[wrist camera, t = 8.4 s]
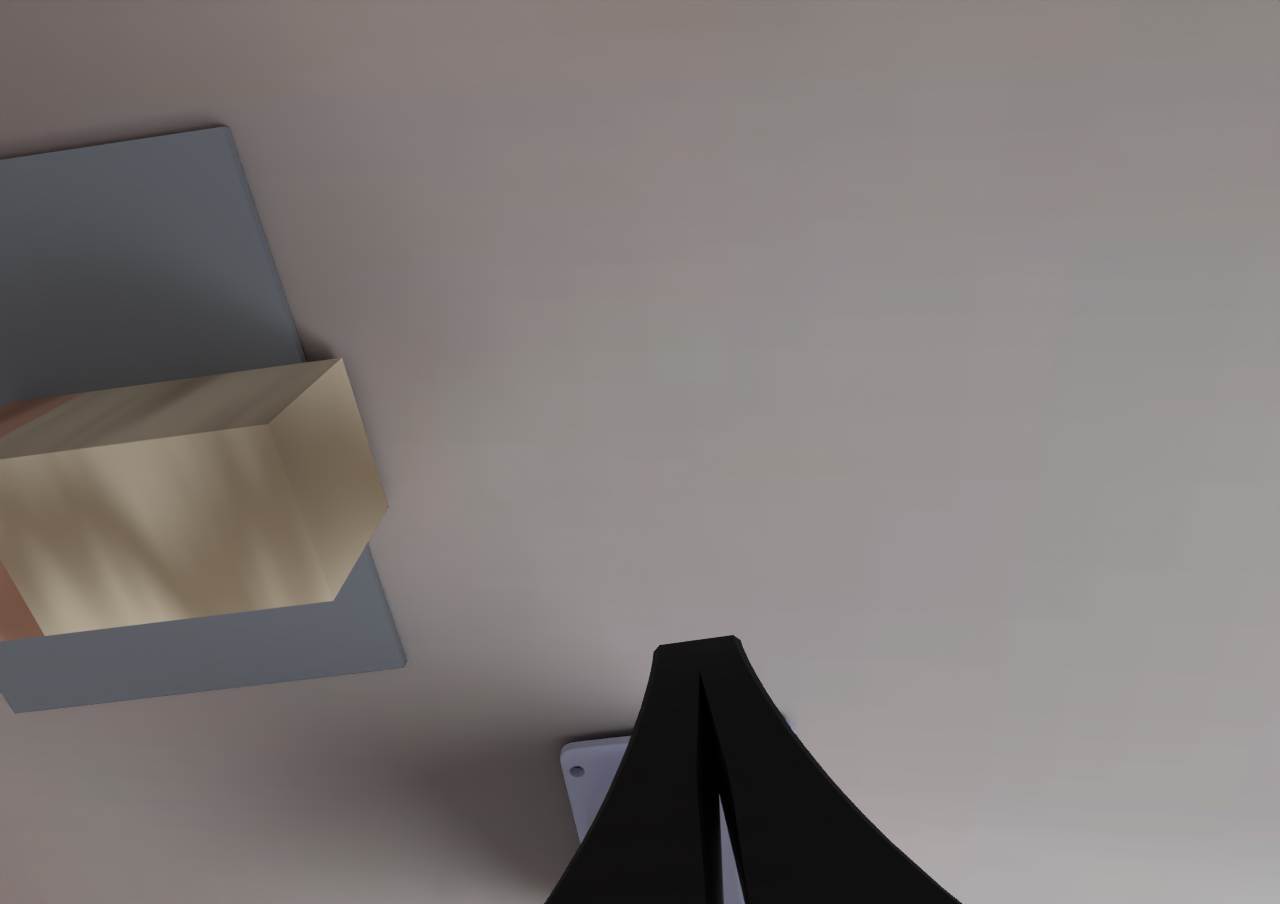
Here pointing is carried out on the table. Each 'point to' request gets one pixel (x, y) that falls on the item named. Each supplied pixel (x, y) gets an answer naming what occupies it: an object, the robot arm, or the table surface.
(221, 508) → the tall block
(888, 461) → the table surface
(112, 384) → the mat
